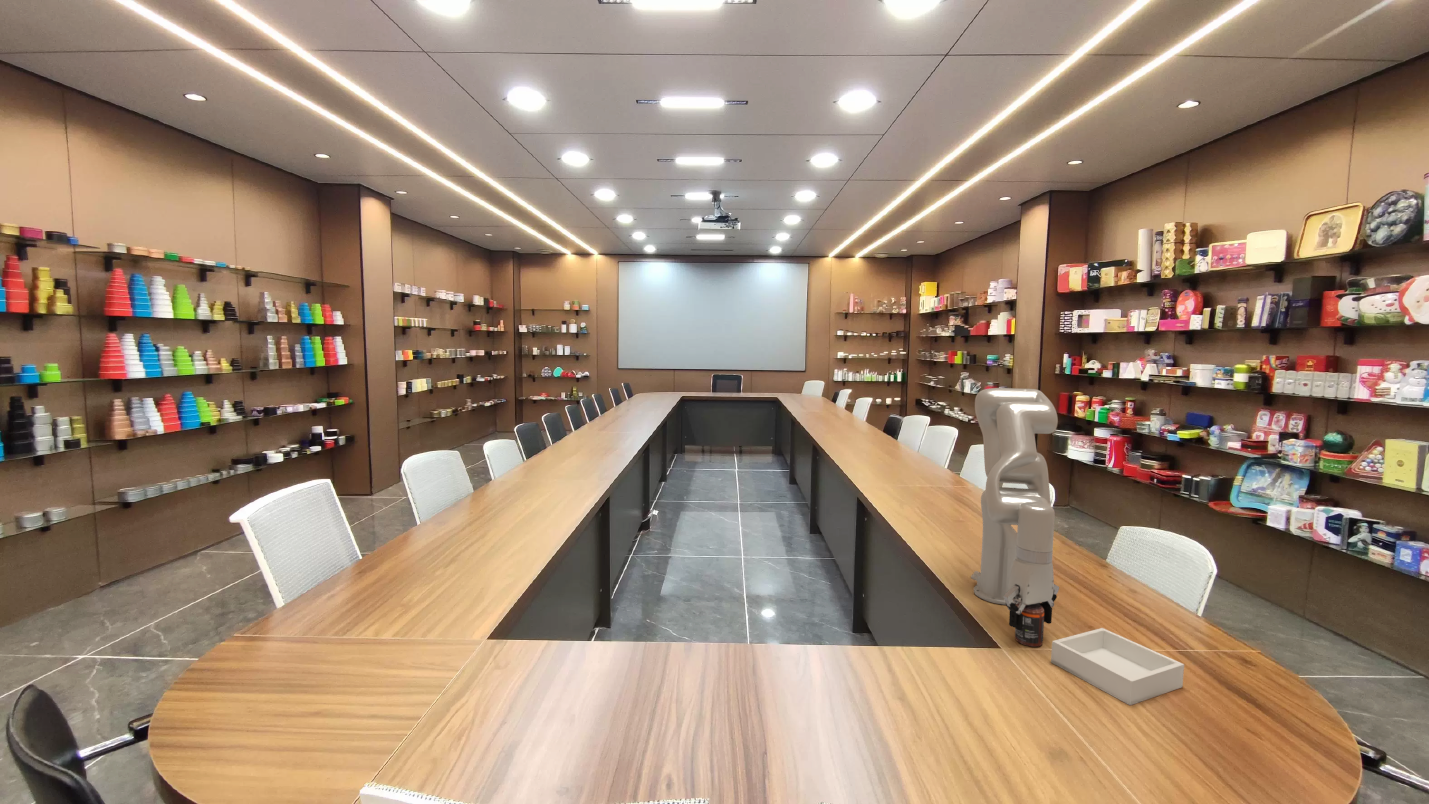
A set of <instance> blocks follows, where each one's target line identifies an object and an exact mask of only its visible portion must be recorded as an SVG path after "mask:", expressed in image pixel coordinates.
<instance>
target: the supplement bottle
mask: <svg viewBox="0 0 1429 804" xmlns="http://www.w3.org/2000/svg"><path fill="white" fill-rule="evenodd" d="M1021 600H1022V599H1021ZM1019 604H1020V603H1018V604H1016V606H1017V607H1018V606H1019ZM1021 613H1022V614H1023V627H1022V630H1017V629H1015V628H1014V638H1015V640H1016V641H1017V642H1018V643H1019V644H1021V645H1024V646H1027V647H1030V648H1032V647H1033V648H1035V647H1036V648H1038V647H1041V646H1043V643H1044V628H1045V627H1044V626H1045V622H1044V609H1043V607H1042V606H1040V603H1036V604H1031V605H1025V607H1024V609H1023V610H1022V612H1021Z"/></svg>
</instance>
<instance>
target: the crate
mask: <svg viewBox="0 0 1429 804" xmlns="http://www.w3.org/2000/svg"><path fill="white" fill-rule="evenodd" d="M1050 663H1051V664H1052V665H1055V666H1057V667H1059V668H1061V669H1062V670H1064V671H1066V672H1068V673H1070V674H1071V675H1073V676H1075V677H1077V678H1079V679H1080V680H1083V682H1084V681H1085V682H1086V683H1088V684H1090V685H1092V686H1093V687H1095V688H1098V689H1099V690H1101V691H1103V692H1105V693H1106V694H1108V695H1110V696H1112V697H1114V698H1116V699H1117V700H1120V701H1121V702H1123V703H1125V704H1126V705H1128V706H1133V705H1136V704H1139V703H1143V702H1144V701H1146V700H1149V699H1152V698H1155V697H1158V696H1161V695H1164V694H1166V693H1170V692H1172V691H1175V690H1178V689H1181V688H1183V685H1184V684H1183V683H1184V673H1185V672H1184V671H1185V663H1182V662H1180V661H1177V660H1176V659H1173V658H1171V657H1170V656H1169V657H1168V656H1166V655H1164V654H1162V653H1159V652H1158V651H1155V650H1152V649H1151V648H1148V647H1146V646H1144V645H1142V644H1140V643H1137V642H1135V641H1133V640H1131V639H1129V638H1126V637H1124V636H1122V635H1119V634H1118V633H1116V632H1113V631H1110V630H1109V629H1107V628H1104V627H1100V628H1096V629H1092V630H1089V631H1085V632H1081V633H1077V634H1074V635H1070V636H1067V637H1063V638H1059V639H1055V640H1052V643H1051V657H1050Z"/></svg>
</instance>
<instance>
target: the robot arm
mask: <svg viewBox="0 0 1429 804" xmlns="http://www.w3.org/2000/svg"><path fill="white" fill-rule="evenodd" d="M974 411H975V416H976V420H977V422H978V425H979V428H980V431H981V433H982V440H983V458H984V459H983V460H984V471H985V472H984V473H985V475H986V482H985V490H984V491H983V492H982V493H981V496H980V506H981V517H982V538H981V543H982V544H981V556H980V557H981V558H980V559H981V561H980V571H978V570H974V572H973V574H971V575H970V579H972V580H974V581H976V585H974V587H973V593H974V594H975V596H977V597H978V598H980V599H981V600H984V601H986V602H989V603H993V604H996V605H998V604H999V605H1004V606H1006V607H1007V610H1009V617H1008V618H1009V619H1008V625H1009V626H1010V627H1012V628H1013V629H1014V630H1015V629H1017V630H1022V627H1023V614H1022V613H1021V612H1022V610H1023V609H1024V607H1025V605H1031V604H1036V603H1040V606H1042V607H1043V609H1044V623H1046V624H1048V625H1050V624H1052V620H1053V619H1052V617H1053V616H1052V615H1053V608H1054V607H1055V601H1056V599H1057V597H1058V596H1057V595H1058V593H1059V590H1060V587H1059V586H1058V585H1057V584H1054V578H1055V577H1054V575H1055V574H1054V565H1053V552H1054V533H1055V532H1054V531H1055V515H1056V513H1055V509H1054V508H1053V507H1052V506H1051V505H1052V503H1051V494H1050V492H1051V490H1050V479H1049V470H1048V464H1047V461H1046V459H1045V456H1044V455H1042V453H1040V452H1038V450H1037V445H1036V438H1035V434H1038V435H1039V434H1043V435H1044V434H1045V435H1048V434H1049V435H1050V434H1052V433H1054V432H1055V431H1056V429H1057V427H1058V423H1059V421H1058V420H1059V419H1058V414H1057V410H1056V408H1055V406H1054V404H1053V402H1052V401H1051V400H1050V399H1049V398H1048V397H1047V395H1045V394H1044V393H1043V392H1042V391H1041V390H1039V389H1036V388H1013V387H1012V388H1011V387H993V388H992V387H991V388H986V389H981V390H980V391H979V392H978V393H977V394H976V396H975V399H974ZM1001 483H1002V484H1018V485H1019V484H1020V485H1025V486H1026V487H1027V488H1018V487H1006V486H1000V484H1001ZM1012 525H1013V526H1017V530H1015V528H1013V526H1012ZM1021 599H1022V600H1021ZM1018 603H1020V604H1019V606H1018V607H1017V604H1018Z"/></svg>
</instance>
